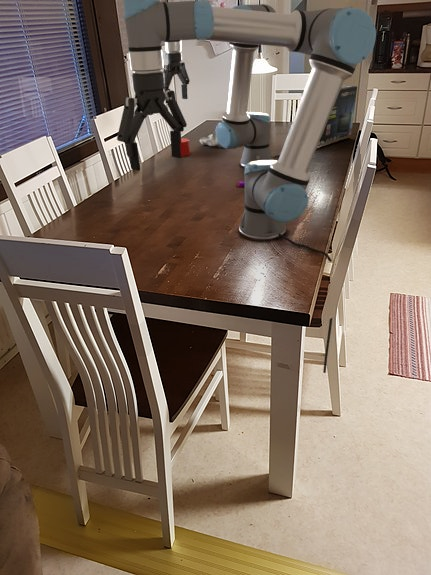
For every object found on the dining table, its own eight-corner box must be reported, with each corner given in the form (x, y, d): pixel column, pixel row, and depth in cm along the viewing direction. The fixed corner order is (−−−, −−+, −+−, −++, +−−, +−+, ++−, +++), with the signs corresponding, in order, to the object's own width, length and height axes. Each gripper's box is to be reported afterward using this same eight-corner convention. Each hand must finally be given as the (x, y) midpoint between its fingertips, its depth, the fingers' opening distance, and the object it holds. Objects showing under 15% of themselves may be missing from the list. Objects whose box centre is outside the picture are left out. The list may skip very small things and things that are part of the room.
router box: (314, 151, 231) (318, 94, 217) (296, 148, 237) (299, 92, 224) (352, 138, 251) (358, 85, 238) (335, 135, 258) (340, 83, 245)
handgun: (237, 185, 191) (237, 180, 190) (255, 183, 192) (255, 178, 191) (249, 201, 173) (249, 197, 172) (269, 199, 174) (269, 194, 174)
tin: (182, 151, 241) (182, 137, 238) (193, 154, 235) (192, 140, 232) (169, 154, 236) (167, 140, 233) (178, 157, 230) (177, 143, 227)
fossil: (223, 141, 238) (204, 123, 241) (212, 159, 245) (194, 141, 248) (240, 140, 252) (222, 123, 255) (230, 156, 258) (212, 139, 262)
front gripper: (176, 65, 115) (182, 150, 126) (92, 76, 100) (107, 172, 111) (197, 66, 111) (201, 154, 122) (112, 78, 96) (126, 178, 107)
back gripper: (182, 49, 222) (185, 96, 233) (150, 54, 204) (154, 105, 215) (195, 50, 219) (197, 97, 230) (163, 54, 201) (167, 106, 212)
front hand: (156, 163), depth 117 cm, fingers open, 13 cm apart
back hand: (176, 101), depth 223 cm, fingers open, 13 cm apart
